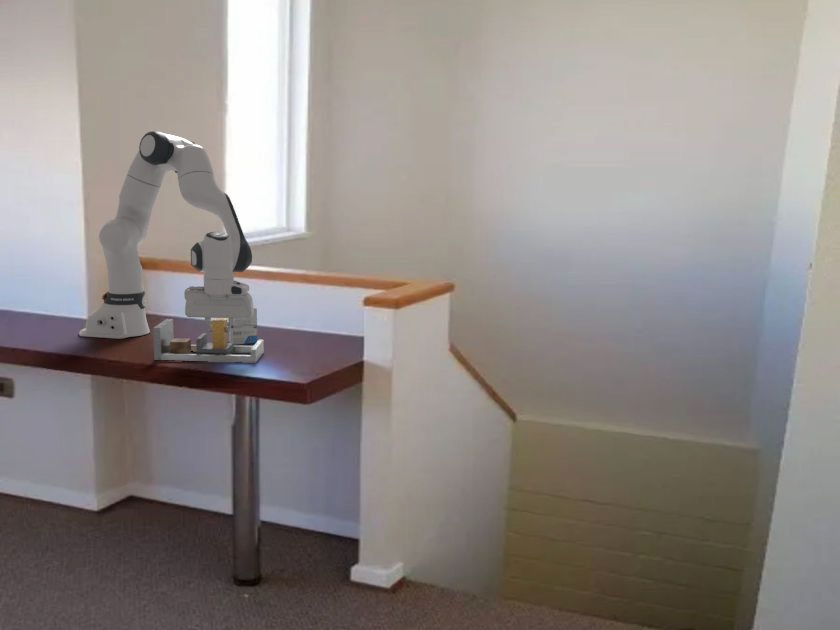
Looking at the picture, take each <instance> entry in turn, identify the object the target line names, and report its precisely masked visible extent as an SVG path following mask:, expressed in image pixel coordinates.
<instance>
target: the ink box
mask: <svg viewBox="0 0 840 630" xmlns="http://www.w3.org/2000/svg"><path fill="white" fill-rule="evenodd" d="M253 307H254V314H253V316H252V317H251V318H235V321H234V322H233V324H232V326H231V332H230V333H228V343H233V345H247V344H249V345H251V344H256V342H257V341H258V312H257V311H258V309H257V307H256V306H254V305H253ZM230 322H231V321H230ZM230 322H229V318H227V323H228V325H229V324H230Z"/></svg>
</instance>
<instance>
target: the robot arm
mask: <svg viewBox="0 0 840 630" xmlns="http://www.w3.org/2000/svg"><path fill="white" fill-rule="evenodd" d="M138 148H139V150H138V152H137V153H136V154H135V157H134V158H133V160H132V162H131V164H130V166H129V169H128V171H127V174H126V176H125V178H124V182H123V185H122V187H121V189H120V193H119V195H118V199H119V200H118V206H117V207H118V208H117V211H116V215H115V217H114V219H110V220H109V221H107V222H106V223H105V224H104V225H103V226H102V227H101V229H100V231H99V236H98V237H99V242H100V244H101V246H102V250H103V255H104V259H105V263H106V269H107V277H108V280H107V281H108V283H107V284H108V291H105V293H104V294H103V295H101V297H102V298H101V299H102V300H103V303H102V304H101V305H100V306H98V307H97V308H95V309H94V311H92V312H91V313H89V315H88V316H87V319H86V323H85V327H84V328H82V329H80V330H79V332H78V334H79V336H80V337H88V338H105V339H116V340H117V339H119V340H121V339H125V338H130V337H131V338H133V337H139V336H145V335H148V334H149V333H150V332H151V331H150V327H149V324H148V321H147V314H146V303H147V302H146V292H145V290H144V272H143V267H142V264H141V261H140V256H139V252H138V247H140V246H141V245H142V244H143V243H144V241H145V239H146V237H147V234H148V229H149V225H150V220H151V216H152V211H153V207H154V205H155V202H156V199H157V197H158V195H159V192H160V188H161V186H162V183H163V181H164V180H163V179H164V177H165V175H166V174H167V172H169V171H172V172H174V173H175V174H177V182H178V187H179V191H180V194H181V196H182V199H184V201H186V203H187V204H189V205H191V206H193V207H195V208H198V209H201V210H204V211H207V212H209V213H212V214H214V215H216V216H217V217H218V218H219V219H220V221H221V222H222V223H223V224H222V225H223V227H224V229H225V232H220V231H211V232H207V233H206V234H205V235H204V238H203V239H202V240H201V241H198V242H196V243H194V245H192V246H191V248H190V265H191V266H192V268H193V269H194V270H196V271H197V272H198V273H199V272H200V273H204V274H203V286H192V285H191V286H189V287H186V289H185V290H184V299H185V307H184V314H185V316H186V317H187V318H200V319H202V318H204V322H205V325H206V326H207V327H208V333H212V322H211V320H212V318H214V319H228V318H229V322H230V321H231V322H230V324H229V322H228V324H227V326H226V327H225V332H227V333H228V334H229V333H230V332H231V326H232V324H233V322H234V321H235V318H251V317H252V316H253V314H254V307H255V306H254V302H253V296H252V295H251V293H250V285H248V284H247V283H244V282H240V281H237V280H234V279H235V276H234V273H243V272H245V271H246V270H247V269H248V268H249V267H250V266H251V264H252V262H253V253H252V249H251V247H250V244H249V242H248V241H247V239H246V237H245V235H244V232H243V231H244V230H243V229H242V225H241V224H240V221H239V218H238V216H237V214H236V213H237V212H236V210H235V207H234V204H233V202H232V200H231V198H230V196H229V195H228V194H227V193H226V192H224V191H223V190H221V188H220V187H219V185H218V184H217V182H216V180H215V174H214V170H213V165H212V163H211V160H210V157H209V154H208V152H207V150H206V149H205V148H204V147H203V146H201V145H198V144H197V143H196V142H195V141H191V140H188V139H186V138H183V137H181V136H178V135H173V134H168V133H163V132H162V131H157V130H155V131H154V130H153V131H148V132H146V133H145V134H144V135H143V136H142V138H141V140H140V143H139V146H138ZM253 306H254V307H253Z"/></svg>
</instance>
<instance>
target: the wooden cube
mask: <svg viewBox="0 0 840 630" xmlns="http://www.w3.org/2000/svg"><path fill="white" fill-rule="evenodd" d="M191 345H192V339H191V338H179V337H178V338H175V337H174V339H173V340H172V341H170V354H192V352H191Z"/></svg>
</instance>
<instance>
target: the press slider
mask: <svg viewBox="0 0 840 630" xmlns="http://www.w3.org/2000/svg"><path fill="white" fill-rule="evenodd" d="M211 324H212V332H211V334H212V337H211V338H212V340H211V341H212V342H208V336H207V335H208V334H207V333H205V332H203V333H201V334H200V335H199V336H198V337H197V338H196V339H195V340H196V341H195V342H196V344H195V345H196V346H197V352H196V354H222V355H233V354H234V353H233V343H229V333H227V332H225V327H226V326H228V318H214V319H213V320H212V321H211Z"/></svg>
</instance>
